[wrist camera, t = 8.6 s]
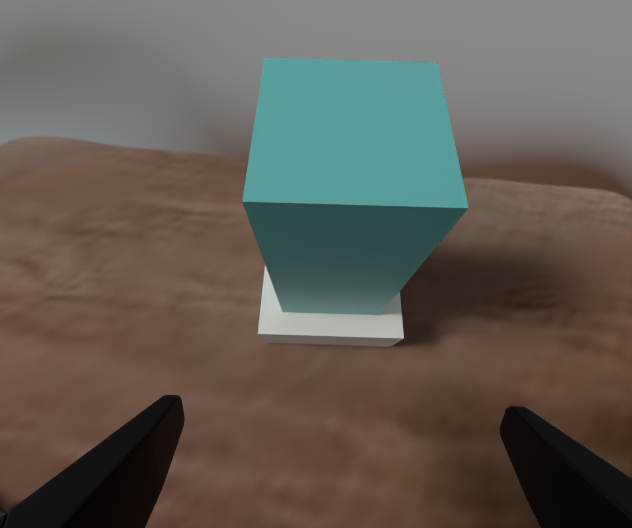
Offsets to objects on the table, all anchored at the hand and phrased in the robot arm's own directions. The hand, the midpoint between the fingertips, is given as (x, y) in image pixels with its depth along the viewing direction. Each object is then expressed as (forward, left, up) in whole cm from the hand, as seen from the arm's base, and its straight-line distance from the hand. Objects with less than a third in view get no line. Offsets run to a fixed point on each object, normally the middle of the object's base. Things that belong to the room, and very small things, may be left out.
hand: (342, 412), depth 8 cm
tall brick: (+7, -1, -7) cm, 10 cm away
